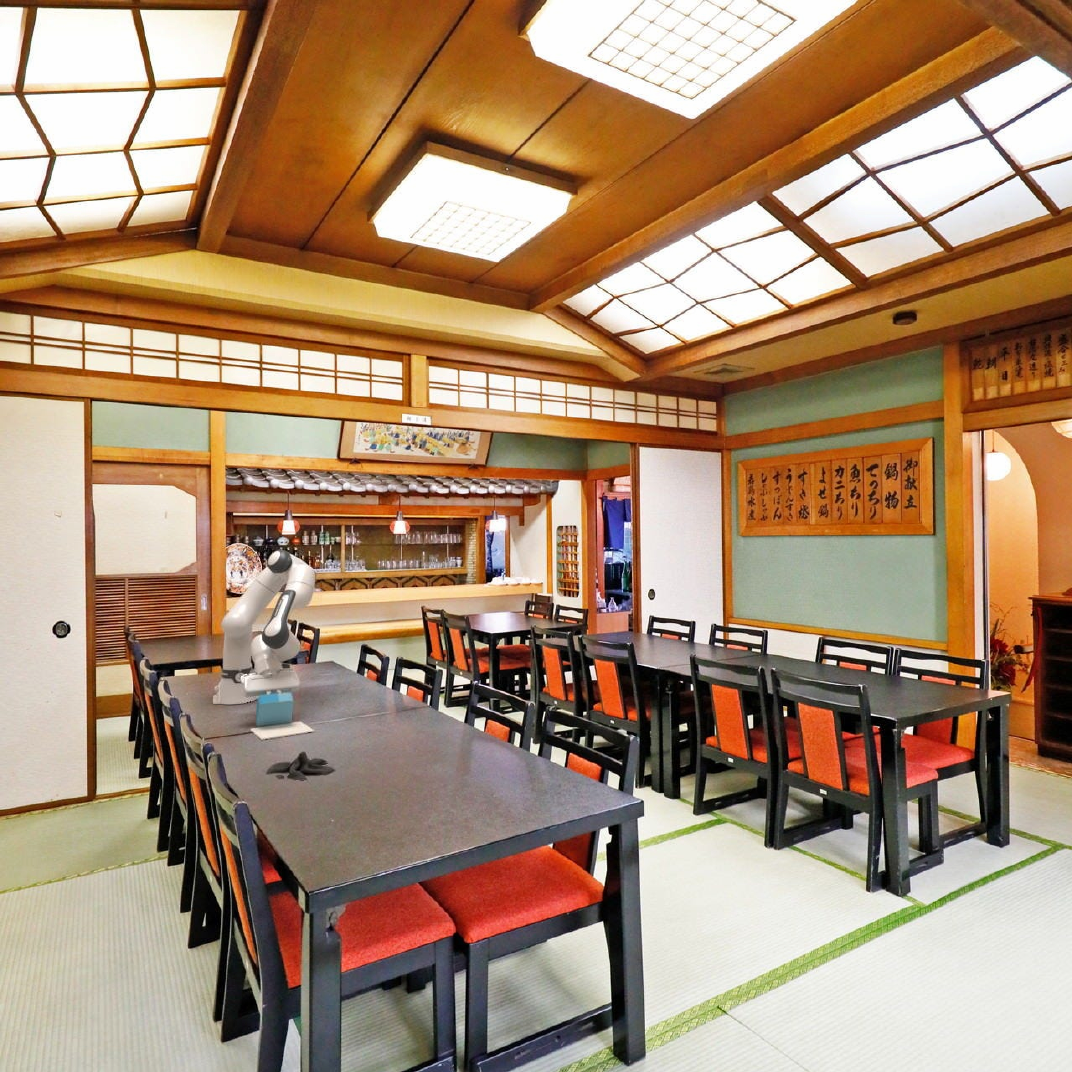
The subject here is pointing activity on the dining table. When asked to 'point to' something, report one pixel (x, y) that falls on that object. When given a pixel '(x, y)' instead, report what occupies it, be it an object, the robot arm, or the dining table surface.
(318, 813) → the dining table surface
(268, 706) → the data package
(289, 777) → the cloth
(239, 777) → the dining table surface
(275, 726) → the pale mat
